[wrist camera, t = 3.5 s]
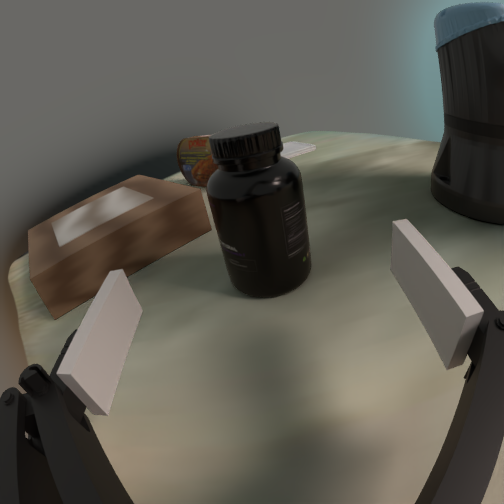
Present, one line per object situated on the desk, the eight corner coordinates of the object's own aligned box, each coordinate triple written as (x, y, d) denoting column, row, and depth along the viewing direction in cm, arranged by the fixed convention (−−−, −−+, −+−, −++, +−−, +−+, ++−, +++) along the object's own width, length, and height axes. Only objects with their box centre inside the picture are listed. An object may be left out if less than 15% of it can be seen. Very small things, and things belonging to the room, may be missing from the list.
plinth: (147, 202, 50) (137, 174, 47) (211, 229, 36) (200, 188, 33) (41, 258, 40) (28, 229, 38) (54, 319, 26) (29, 278, 23)
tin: (182, 184, 55) (169, 140, 50) (195, 177, 56) (184, 134, 52) (239, 192, 45) (226, 136, 40) (254, 184, 46) (242, 130, 42)
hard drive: (261, 161, 53) (315, 144, 57) (239, 155, 59) (290, 140, 64) (263, 170, 54) (316, 152, 58) (241, 163, 60) (291, 147, 65)
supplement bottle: (216, 294, 25) (171, 148, 19) (251, 249, 30) (223, 124, 24) (298, 306, 22) (270, 135, 16) (322, 254, 27) (304, 115, 21)
